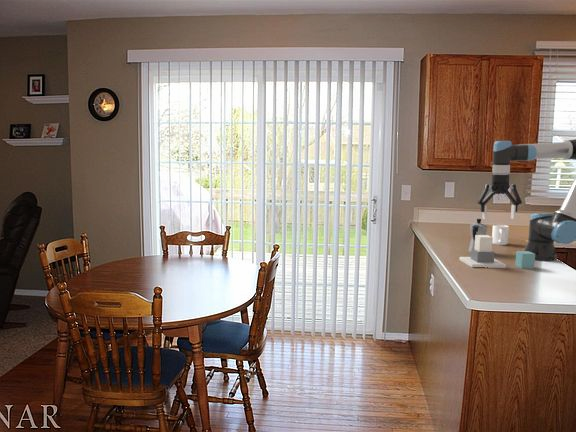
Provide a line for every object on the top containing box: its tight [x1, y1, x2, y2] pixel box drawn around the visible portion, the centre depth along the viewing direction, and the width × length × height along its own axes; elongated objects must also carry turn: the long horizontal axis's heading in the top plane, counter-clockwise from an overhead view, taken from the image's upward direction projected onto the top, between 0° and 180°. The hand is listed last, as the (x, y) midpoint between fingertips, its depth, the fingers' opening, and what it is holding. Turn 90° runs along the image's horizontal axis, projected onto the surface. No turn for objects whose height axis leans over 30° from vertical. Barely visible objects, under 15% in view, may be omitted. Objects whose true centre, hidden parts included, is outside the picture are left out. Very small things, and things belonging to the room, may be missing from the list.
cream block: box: [474, 234, 493, 252], centre depth 235 cm, size 6×6×7 cm
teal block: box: [514, 250, 536, 270], centre depth 231 cm, size 6×6×7 cm
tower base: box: [459, 249, 507, 269], centre depth 236 cm, size 16×16×6 cm
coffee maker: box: [468, 218, 488, 253], centre depth 262 cm, size 15×9×18 cm, turn 144°
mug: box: [491, 224, 510, 246], centre depth 286 cm, size 9×12×11 cm
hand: (498, 219), depth 232 cm, fingers open, 13 cm apart
